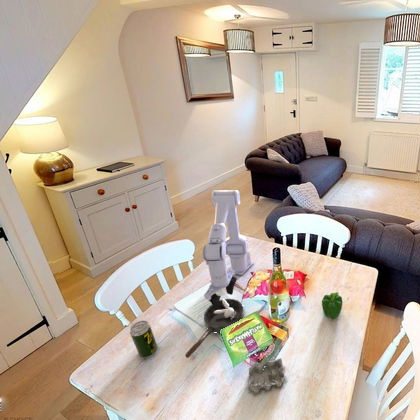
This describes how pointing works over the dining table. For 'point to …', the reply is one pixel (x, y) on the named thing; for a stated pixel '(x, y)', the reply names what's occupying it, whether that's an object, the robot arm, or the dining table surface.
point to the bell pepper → (332, 305)
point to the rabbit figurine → (226, 310)
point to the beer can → (143, 339)
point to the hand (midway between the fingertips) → (223, 300)
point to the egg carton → (266, 375)
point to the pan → (218, 319)
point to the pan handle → (199, 342)
